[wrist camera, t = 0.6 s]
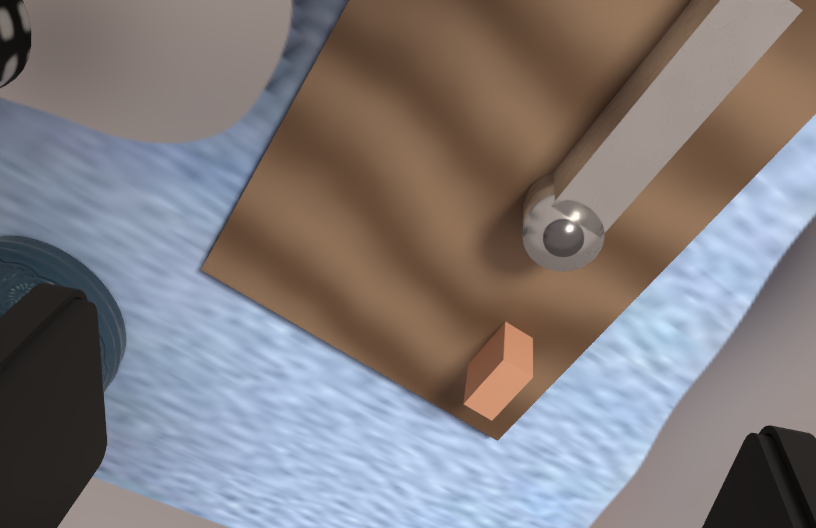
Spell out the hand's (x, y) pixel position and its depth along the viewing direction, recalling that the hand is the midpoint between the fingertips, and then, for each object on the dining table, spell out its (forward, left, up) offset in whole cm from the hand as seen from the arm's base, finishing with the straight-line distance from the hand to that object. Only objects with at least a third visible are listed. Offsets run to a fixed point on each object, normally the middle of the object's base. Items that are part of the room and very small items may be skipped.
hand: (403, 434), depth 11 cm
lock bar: (0, +9, -30) cm, 31 cm away
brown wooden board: (+6, +5, -31) cm, 32 cm away
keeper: (+16, +12, -30) cm, 36 cm away
